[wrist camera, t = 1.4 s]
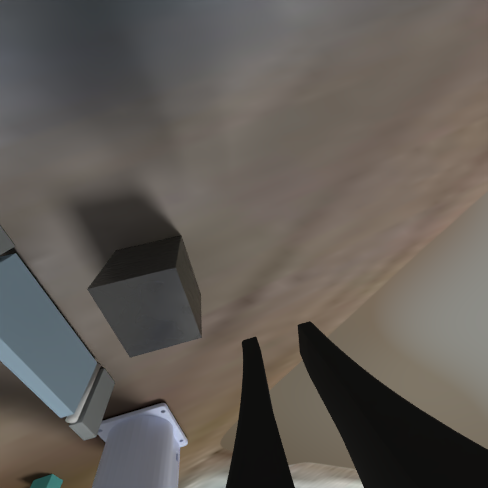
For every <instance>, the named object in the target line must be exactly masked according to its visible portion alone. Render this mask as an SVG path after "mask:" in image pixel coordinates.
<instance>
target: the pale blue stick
mask: <svg viewBox="0 0 488 488" xmlns="http://www.w3.org/2000/svg"><path fill="white" fill-rule="evenodd" d="M0 361H1V362H2V363H3V364H4V365H5V366H7V367H8V368H9V369H10V370H11V371H12V372H13V373H14V374H15V375H16V376H17V377H18V378H19V379H20V380H21V381H22V382H23V383H24V384H25V385H26V386H27V387H28V388H30V389H31V390H32V391H33V392H34V393H35V394H36V395H37V396H38V397H39V398H40V399H41V400H42V401H43V402H44V403H45V404H46V405H47V406H48V407H49V408H50V409H51V410H53V411H54V412H55V413H56V414H57V415H58V416H59V417H60V418H62V417H66V416H69V415H72V414H74V413H75V411H76V409H77V407H78V404H79V402H80V400H81V398H82V396H83V393H84V391H85V389H86V387H87V385H88V382H89V380H90V378H91V376H92V374H93V371H94V369H95V367H96V365H97V362H96V361H95V359H94V358H93V357H92V355H91V354H90V353H89V351H88V350H87V349H86V347H85V346H84V344H83V343H82V342H81V340H80V339H79V338H78V336H77V335H76V334H75V332H74V331H73V330H72V328H71V327H70V326H69V324H68V323H67V322H66V320H65V319H64V317H63V316H62V315H61V313H60V312H59V311H58V309H57V308H56V307H55V305H54V304H53V303H52V301H51V300H50V299H49V297H48V296H47V295H46V293H45V292H44V290H43V289H42V288H41V286H40V285H39V284H38V282H37V281H36V280H35V278H34V277H33V276H32V274H31V273H30V272H29V270H28V269H27V268H26V266H25V265H24V263H23V262H22V261H21V259H20V258H19V257H18V255H17V254H16V253H15V254H10V255H6V256H1V257H0Z"/></svg>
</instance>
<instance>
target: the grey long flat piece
mask: <svg viewBox="0 0 488 488" xmlns="http://www.w3.org/2000/svg"><path fill="white" fill-rule="evenodd" d="M13 247H15V245H14V244H13V242H12V241H11V240H10V238H9V237H8V235H7V234H6V233H5V231H4V230H3V229H2V227H1V226H0V255H1V254H3V253H5V252H6V251H8V250H10V249H12V248H13ZM100 367H101V365H100V364H99V363H97V365H96V367H95V369H94V371H93V374H92V376H91V378H90V380H89V382H88V385H87V387H86V389H85V391H84V393H83V396H82V398H81V400H80V402H79V404H78V407H77V409H76V411H75V413H74V414H72V415H69V416H67V418H66V420H65V421H66V422H67V423H70V424H69V427H70V428H71V429H72V430H73V431H75V432H76V433H77V434H78V435H79V436H80V437H81V438H82V439H83V440H87V439H91V438H94V437H96V436H97V433H98V431H99V428H100V425H101V422H102V419H103V416H104V413H105V410H106V407H107V404H108V402H109V399H110V396H111V393H112V390H113V387H114V384H115V382H114V381H113V379H112V378H111V377H110V375H109V374H108V372H107V371H106V370H105V368H103V369H100Z"/></svg>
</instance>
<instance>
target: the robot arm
mask: <svg viewBox="0 0 488 488" xmlns="http://www.w3.org/2000/svg"><path fill="white" fill-rule="evenodd" d="M298 334H299V346H300V354H301V357H302V359H303V362H304V364H305V366H306V369H307V371H308V373H309V376H310V378H311V380H312V381H313V383H314V385H315V387H316V389H317V391H318V393H319V394H320V397H321V398H322V400H323V402H324V404H325V406H326V408H327V410H328V412H329V413H330V415H331V417H332V419H333V421H334V423H335V424H336V427H337V429H338V430H339V432H340V434H341V437H342V438H343V441H344V443H345V445H346V448H347V450H348V452H349V454H350V457H351V459H352V461H353V463H354V466H355V468H356V470H357V472H358V475H359V477H360V479H361V482H362V484H363V486H364V488H488V449H486V448H484V447H482V446H480V445H479V444H477V443H475V442H473V441H472V440H470V439H468V438H466V437H465V436H463V435H461V434H460V433H457V432H456V431H454V430H453V429H451V428H450V427H448V426H446V425H445V424H443V423H441V422H440V421H438V420H437V419H435V418H433V417H431V416H430V415H428V414H427V413H425V412H424V411H422V410H420V409H419V408H417V407H416V406H414V405H413V404H411V403H410V402H408V401H407V400H405V399H404V398H402V397H401V396H399V395H398V394H397V393H395V392H394V391H392V390H391V389H389V388H388V387H387V386H385V385H384V384H383V383H381V382H380V381H379V380H377V379H376V378H374V377H373V376H372V375H370V374H369V373H368V372H366V370H364V369H363V368H362V367H360V366H359V365H358V364H357V363H356V362H354V361H353V360H352V359H351V358H350V357H348V356H347V355H346V354H345V353H344V352H343V351H341V350H340V349H339V348H338V347H337V346H336V345H335V344H334V343H332V342H331V341H330V340H329V339H328V338H327V337H326V336H325V335H324V334H323V333H322V332H321V331H320V330H319V329H318V328H317V327H316V326H315V325H314V324H313V323H312V322H310V321H309V322H306V323H302V324H299V325H298ZM242 348H243V380H242V394H241V403H240V412H239V420H238V427H237V433H236V439H235V444H234V450H233V455H232V460H231V465H230V470H229V475H228V480H227V484H226V488H295V487H294V483H293V480H292V477H291V473H290V470H289V466H288V463H287V459H286V456H285V452H284V449H283V445H282V442H281V438H280V435H279V432H278V428H277V424H276V421H275V418H274V414H273V409H272V404H271V399H270V394H269V389H268V384H267V379H266V374H265V369H264V364H263V359H262V354H261V350H260V347H259V344H258V341H257V338H256V337H253V338H250V339H246V340H243V342H242ZM97 434H98V435H99V436H100V437H101V438H102V439H103V441H104V442H105V446H104V450H103V453H102V456H101V459H100V463H99V466H98V469H97V473H96V476H95V479H94V482H93V486H92V488H178V477H179V460H180V447H183V446H186V445H187V444H188V440H187V438H186V436H185V435H184V433H183V431H182V430H181V428H180V426H179V425H178V423H177V421H176V420H175V418H174V416H173V415H172V413H171V411H170V410H169V408H168V406H167V405H166V404H165V403H160V404H156V405H153V406H150V407H146V408H143V409H140V410H136V411H133V412H130V413H126V414H123V415H120V416H116V417H113V418H110V419H106V420H103V421H102V422H101V425H100V428H99V431H98V433H97Z"/></svg>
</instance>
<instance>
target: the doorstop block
mask: <svg viewBox="0 0 488 488" xmlns="http://www.w3.org/2000/svg"><path fill="white" fill-rule="evenodd" d="M88 291H89V292H90V294H91V296H92V297H93V299H94V301H95V302H96V304H97V305H98V307H99V309H100V310H101V312H102V313H103V315H104V317H105V318H106V320H107V321H108V323H109V325H110V326H111V328H112V329H113V331H114V333H115V334H116V336H117V337H118V339H119V341H120V342H121V344H122V345H123V347H124V349H125V350H126V352H127V353H128V355H129V357H134V356H137V355H141V354H144V353H148V352H152V351H155V350H159V349H162V348H166V347H170V346H173V345H177V344H180V343H184V342H188V341H191V340H195V339H198V338H202V330H201V293H200V290H199V287H198V284H197V281H196V278H195V275H194V272H193V269H192V266H191V263H190V260H189V257H188V254H187V251H186V248H185V245H184V242H183V239H182V236H177V237H173V238H168V239H164V240H160V241H155V242H151V243H147V244H142V245H138V246H134V247H129V248H125V249H121V250H116V251H115V253H114V254H113V255H112V257H111V258H110V259H109V261H108V262H107V263H106V265H105V266H104V267H103V269H102V270H101V271H100V273H99V274H98V275H97V277H96V278H95V279H94V281H93V282H92V284H91V285H90V286H89V288H88Z"/></svg>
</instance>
